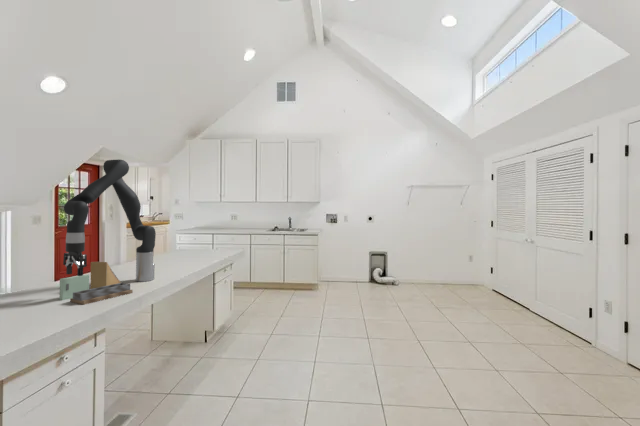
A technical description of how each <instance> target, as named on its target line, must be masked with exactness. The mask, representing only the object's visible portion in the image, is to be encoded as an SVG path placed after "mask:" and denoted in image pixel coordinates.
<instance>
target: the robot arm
mask: <svg viewBox="0 0 640 426" xmlns="http://www.w3.org/2000/svg"><path fill="white" fill-rule="evenodd" d="M129 170H130V165H129V163H128V162H127V161H126V160H124V159H108V160H105V161H104V163H103V172H104V173H105V174H104V175H103V176H101V177H100V178H97V179H96V180H94V181H93V182H91V183H89V184H88V185H87V186H86V187H85V188H84V189H83V190H82V191H80V192H79V193H78V194H76V195H75V196H73V197H72V198H70V199H69V200H68V201H66V203H65V204H64V205H63V211H64V212H65V214H67V215H69V216H72V219H71V220H68V221H67V223H66V235H65V252H64V253H63V261H62V265H63V266H65V268H66V270H65V271H66V273H65V274H66V275H72V274H73V265H76V267H77V271H76V272H77V275H76V276H82V275H84V268H85V267H88V261H87V260H88V259H87V257H88V255H87V254H86V253H85V254H83V252H85V248H86V244H85V243H86V236H85V226H86V225H85V224H86V221H87V218H88V215H89V209H90V208H89V204H93V203H94V202H95V201H96V200H97V199H98V198H99V197H100V196H101V195H102V194H103V193H104V192H106V190H108V189H109V188H110V187H111V186H112V187H113V190H114V192H115V194H116V196H117V198H118V200H119V202H120V205H121V207H122V210H123V211H124V213H125V216H126V218H127V220H128V222H129V223H128V224H129V226H130V228H131V233H132V234H133V238H134V239H136V240H137V241H141V245H139V246H137V247H136V250H135V251H136V255H135V257H136V259H135V261H136V262H135V282H149V281H153V280H155V265H156V264H155V263H154V249H155V246H156V229H155V228H154V226H152V225H144V224H143V222H142V220H141V217H140V216H141V215H140V214H141V210H142V209H141V208H142V207H141V203H140V200H139V197H138V195H137V193H136V192H135V191H134V190H133V189H132V188H131V187H130V186H129V185H128V184H127V183H126V182H125V180H124V179H123V177H124V176H126V175H127V174H128V173H129Z"/></svg>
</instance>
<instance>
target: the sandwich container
mask: <svg viewBox="0 0 640 426" xmlns="http://www.w3.org/2000/svg"><path fill="white" fill-rule="evenodd" d="M117 283H122V282H121V281H120V279H119V278H118V277H117V275H116V274H115V272H114V271H113V270H112V268H111V266H110V265H109V263H108V262H107V261H91V262H90V289H93V288H98V287H103V286H108V285H113V284H117Z"/></svg>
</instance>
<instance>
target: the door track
mask: <svg viewBox="0 0 640 426" xmlns="http://www.w3.org/2000/svg"><path fill="white" fill-rule="evenodd" d="M125 294H126V295H130V294H133V289H131V283H127V282H121V283H117V284H113V285H108V286H103V287H98V288H93V289H91V288H89V289H88V290H83V291H78V292H74V293H73V298H71V299H69V300H70V303H74V304H79V305H87V304H88V305H89V304H92V303H96V302H101V301H105V300H109V299H108V298H110V299H113V297H114V298H117V296H118V297H121V296H120V295H122V296H125ZM104 299H105V300H104ZM100 300H101V301H100Z"/></svg>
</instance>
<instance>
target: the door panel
mask: <svg viewBox="0 0 640 426" xmlns="http://www.w3.org/2000/svg"><path fill="white" fill-rule="evenodd" d="M88 289H90V274H83V275H82V276H77V275H74V276H70V277H63V278H59V301H66V300H70V299H71V298H73V293H74V292H78V291H83V290H88Z"/></svg>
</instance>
